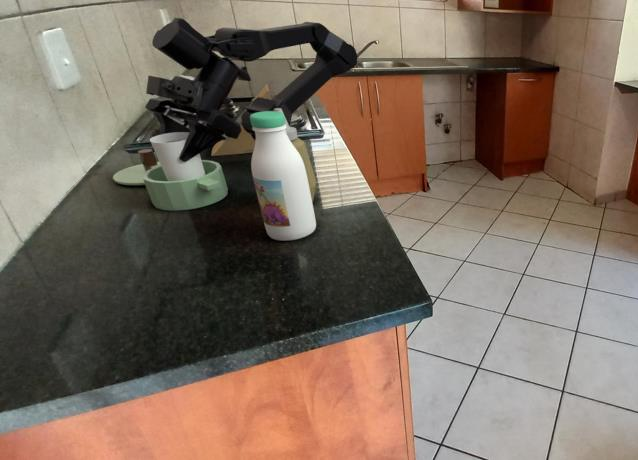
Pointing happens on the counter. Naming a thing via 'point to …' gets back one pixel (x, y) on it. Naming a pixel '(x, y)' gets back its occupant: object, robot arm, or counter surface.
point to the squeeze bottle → (301, 154)
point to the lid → (137, 169)
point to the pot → (186, 188)
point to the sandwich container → (244, 139)
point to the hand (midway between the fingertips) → (170, 157)
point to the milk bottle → (280, 180)
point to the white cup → (176, 157)
